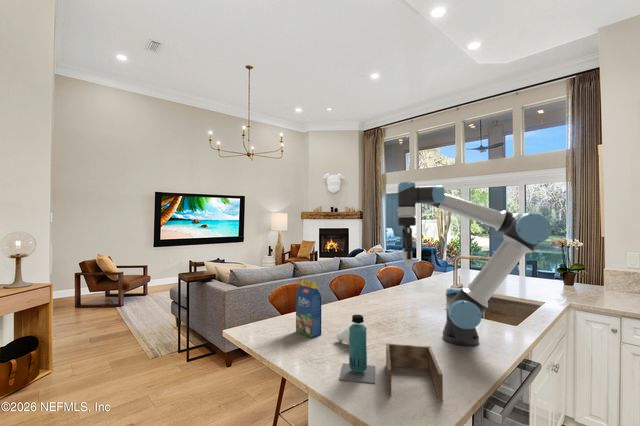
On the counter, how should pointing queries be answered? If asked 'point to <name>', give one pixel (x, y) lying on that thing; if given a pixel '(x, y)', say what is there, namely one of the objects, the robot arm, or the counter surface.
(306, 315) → the blue food package
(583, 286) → the counter surface
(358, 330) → the beverage bottle
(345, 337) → the white crumpled lump
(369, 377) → the mat
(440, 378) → the wooden u-frame
